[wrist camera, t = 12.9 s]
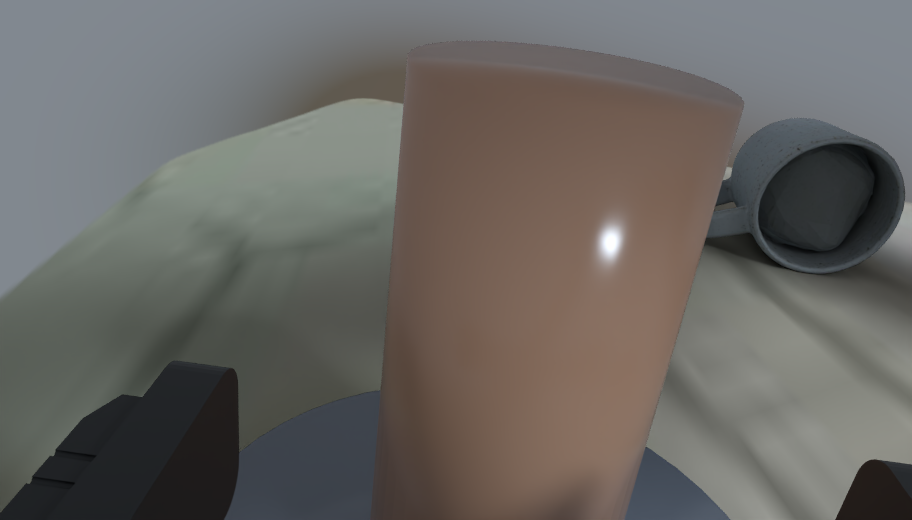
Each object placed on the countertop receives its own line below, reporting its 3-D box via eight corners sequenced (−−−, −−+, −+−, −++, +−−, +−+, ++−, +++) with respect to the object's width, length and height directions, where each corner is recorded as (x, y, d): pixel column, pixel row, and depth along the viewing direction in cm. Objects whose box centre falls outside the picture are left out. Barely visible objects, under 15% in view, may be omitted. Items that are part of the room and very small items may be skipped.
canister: (535, 474, 21) (623, 48, 15) (644, 647, 16) (823, 121, 11) (343, 509, 19) (370, 33, 13) (404, 719, 14) (482, 115, 9)
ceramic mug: (824, 228, 46) (865, 112, 43) (877, 284, 39) (931, 149, 36) (661, 207, 47) (688, 90, 44) (682, 258, 40) (717, 123, 36)
